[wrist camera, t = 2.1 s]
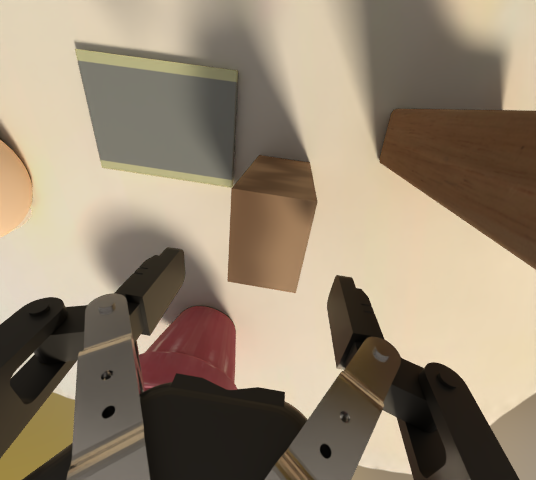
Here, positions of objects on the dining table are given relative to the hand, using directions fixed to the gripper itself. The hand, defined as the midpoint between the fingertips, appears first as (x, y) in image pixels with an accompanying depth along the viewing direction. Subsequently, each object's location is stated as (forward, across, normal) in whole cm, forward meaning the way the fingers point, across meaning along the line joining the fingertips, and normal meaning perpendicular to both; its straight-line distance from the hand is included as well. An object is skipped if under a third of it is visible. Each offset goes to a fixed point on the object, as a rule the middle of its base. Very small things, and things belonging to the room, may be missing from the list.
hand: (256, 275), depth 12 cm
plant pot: (+15, +8, +23) cm, 28 cm away
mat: (+14, +12, -5) cm, 19 cm away
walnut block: (+14, 0, 0) cm, 14 cm away
